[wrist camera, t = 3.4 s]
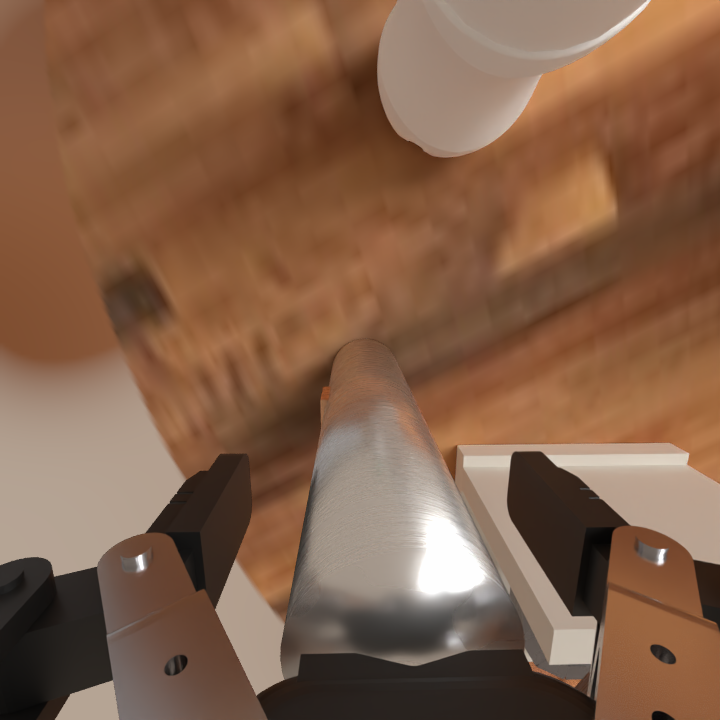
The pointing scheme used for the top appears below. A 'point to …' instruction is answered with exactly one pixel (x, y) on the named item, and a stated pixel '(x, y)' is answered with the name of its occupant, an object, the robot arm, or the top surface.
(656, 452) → the tube holder
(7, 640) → the robot arm
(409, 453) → the steel tube
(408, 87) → the water bottle
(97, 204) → the top surface
